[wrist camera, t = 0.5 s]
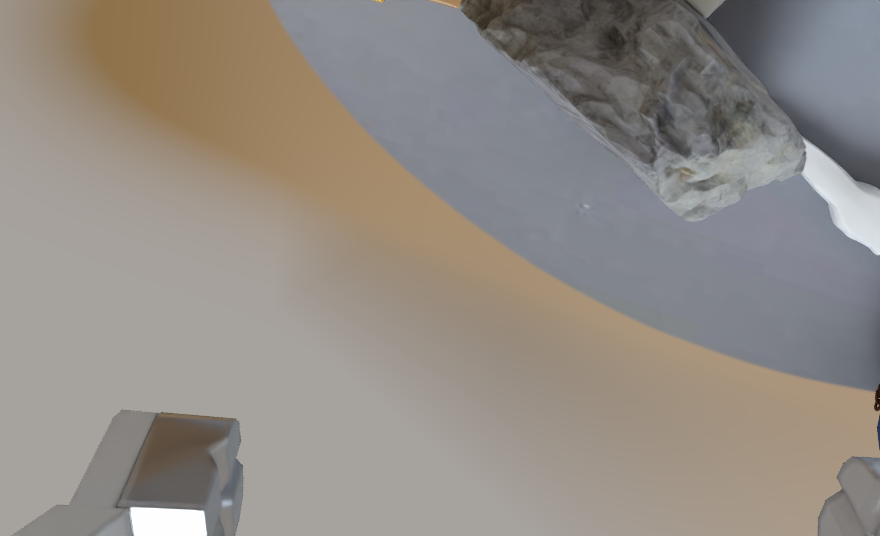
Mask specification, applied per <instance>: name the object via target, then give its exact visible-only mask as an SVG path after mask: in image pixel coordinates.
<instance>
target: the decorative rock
mask: <svg viewBox="0 0 880 536" xmlns="http://www.w3.org/2000/svg"><path fill="white" fill-rule="evenodd" d="M461 5H462V7H463V8H462V10H461V11H462V12H463V13H464V14H465V15H466V16H467V18H468V19H470V20H471V21H472V22H474V23H475V25H476V27H477V29H478V31H479V33H480V35H481V36H482V37H483V39H484V40H485V41H486V42H487V43H489V44H490V45H491V46H492V47H494V48H495V49H496V50H497V51H498V52H499V53H500V54H502V55H503V56H504V57H505V58H506V59H507V60H508V61H510V62H511V63H512V64H513V65H514V66H515V67H516V68H517V69H518V70H519V71H520V72H521V73H522V74H523V75H525V76H526V77H527V78H528V79H529V80H530V81H532V82H533V83H534V84H535V85H536V86H537V87H538V88H539V89H540V90H541V91H542V92H543V93H544V94H545V95H546V96H547V97H548V98H549V99H550V100H551V101H552V102H553V103H554V104H555V106H556V107H557V108H559V109H560V110H561V111H562V112H563V113H564V114H566V115H567V116H568V117H569V118H570V119H571V120H572V121H573V122H575V123H576V124H577V125H578V126H579V127H580V128H582V129H583V130H584V131H585V132H587V133H588V134H589V135H590V136H592V137H593V138H594V139H595V140H597V141H598V142H599V143H600V144H601V145H602V146H604V147H605V148H606V149H608V150H609V151H610V152H612V153H613V154H614V155H615V156H617V157H618V158H619V159H621V160H622V161H623V162H625V163H626V164H627V165H628V166H629V167H630V168H631V169H632V170H633V171H634V172H635V173H636V174H637V175H638V177H639V178H640V179H641V180H642V181H643V182H644V183H645V184H646V185H647V186H648V187H649V188H650V189H651V190H652V191H653V192H654V193H655V194H656V195H657V196H658V197H659V199H660V200H661V201H662V202H664V203H665V204H666V205H667V206H668V207H670V208H671V209H672V210H673V211H674V213H676V214H677V215H678V216H680V217H681V218H683V219H685V220H687V221H689V222H692V221H700V220H702V219H704V218H706V217H709V216H710V215H712V214H714V213H716V212H717V211H719V210H720V209H722V208H723V207H725V206H730V205H732V204H734V203H735V202H737V201H738V200H740V199H741V198H742V196H743V195H744V193H745V192H746V190H751V189H753V188H755V187H757V186H763V185H767V184H769V183H770V182H772V181H774V180H778V181H780V182H783V181H784V180H786V179H788V178H789V177H791V176H794V175H797V174H799V173H801V172H803V170H804V166H805V162H806V154H807V153H806V151H805V149H806V145H805V143H804V141H803V139H802V137H801V135H800V134H799V132H798V130H797V129H796V127H795V125H794V124H793V122H792V121H791V120H790V118H789V117H788V116H787V114H786V113H785V112H784V111H783V110H782V109H781V108H780V107H779V106H778V105H777V104H776V103H775V102H774V101H773V100H772V99H771V98H770V96H769V94H768V91H767V89H766V88H765V87H764V85H763V84H762V83H761V81H760V80H759V79H758V78H757V77H756V76H755V75H754V74H753V73H752V72H751V71H750V70H749V69H748V68H747V67H746V66H745V64H744V63H743V62H742V61H741V60H740V59H739V57H738V56H737V55H736V54H735V53H734V51H733V50H732V49H731V48H730V46H729V45H728V44H727V43H726V41H725V40H724V39H723V38H722V36H721V35H720V34H719V33H718V31H717V30H716V29H715V28H714V27H713V26H712V25H711V24H710V23H709V22H708V21H707V20H706V19H704V18H703V17H702V16H701V15H700V14H699V13H698V12H696V11H695V10H693V9H692V8H691V7H690V6H688V5H687V4H686V3H685V2H684V1H683V0H462V1H461Z"/></svg>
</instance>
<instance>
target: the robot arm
mask: <svg viewBox="0 0 880 536" xmlns="http://www.w3.org/2000/svg"><path fill="white" fill-rule="evenodd" d="M240 443H241V436H240V426H239V422H238V420H237V419H233V418H222V417H210V416H198V415H186V414H175V413H163V412H161V413H151V412H140V411H131V410H121V411H120V412H119V413H118V414H117V415H116V416H114V418H113V419H112V421H111V423H110V425H109V427H108V429H107V431H106V433H105V435H104V437H103V439H102V441H101V442H100V444H99V446H98V448H97V450H96V452H95V454H94V457H93V458H92V460H91V462H90V464H89V466H88V468H87V470H86V472H85V474H84V476H83V478H82V480H81V482H80V484H79V486H78V488H77V490H76V492H75V494H74V496H73V498H72V500H71V502H70V504H69V505H56V506H54V507H53V508H51V509H50V510H48V511H47V512H45V513H44V514H43V515H41V516H39V517H38V518H37V519H35V520H34V521H32V522H31V523H29V524H28V525H26V526H25V527H24V528H22V529H20V530H19V531H17V532H16V533H14V534H13V535H12V536H235V534H236V530H237V526H238V522H239V518H240V511H241V505H242V498H243V465H242V464H241V463H240V462H239V461H238V460H237V459H236V456H237V453H238V450H239V446H240ZM837 479H838V481H839V483H840V485H841V487H842V490H840V491H839V492H837V493H836V494H834V495H833V496H831V497H830V498H828V499H827V500H825V503H824V505H823V508H822V510H821V513H820V515H819V517H818V536H880V458H871V457H851V458H850V459H848V460H847V461H846V462H845V463H843V465H842V467H841V469H840V471H839V473H838V475H837Z"/></svg>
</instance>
